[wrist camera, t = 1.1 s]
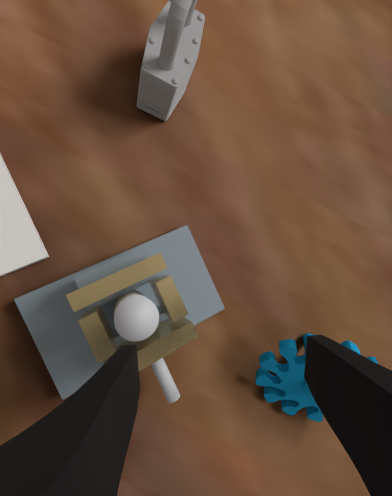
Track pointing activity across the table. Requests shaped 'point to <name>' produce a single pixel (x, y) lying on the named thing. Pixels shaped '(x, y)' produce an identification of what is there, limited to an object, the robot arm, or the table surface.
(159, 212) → the table surface
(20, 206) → the mat
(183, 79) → the padlock
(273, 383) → the gear
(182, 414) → the table surface
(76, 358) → the vise
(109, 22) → the table surface
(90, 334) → the sleeve
